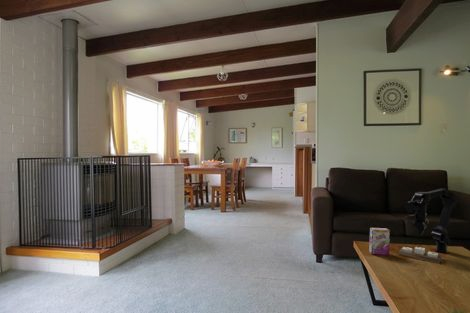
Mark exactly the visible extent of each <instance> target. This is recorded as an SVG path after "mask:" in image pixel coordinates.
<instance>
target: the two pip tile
mask: <svg viewBox="0 0 470 313" xmlns="http://www.w3.org/2000/svg"><path fill="white" fill-rule="evenodd" d="M413 250H414V253H416V254H421V255H424V254H425V252H426V248H425V247H420V246H415V247H414V249H413Z"/></svg>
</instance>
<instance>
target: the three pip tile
mask: <svg viewBox="0 0 470 313" xmlns="http://www.w3.org/2000/svg"><path fill="white" fill-rule="evenodd" d="M401 248H402V251H404V252H409V253H412V250H413V247H412V248H411V247H407V246H403V247H401Z"/></svg>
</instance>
